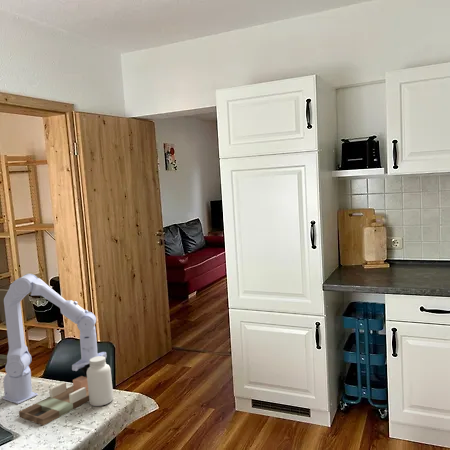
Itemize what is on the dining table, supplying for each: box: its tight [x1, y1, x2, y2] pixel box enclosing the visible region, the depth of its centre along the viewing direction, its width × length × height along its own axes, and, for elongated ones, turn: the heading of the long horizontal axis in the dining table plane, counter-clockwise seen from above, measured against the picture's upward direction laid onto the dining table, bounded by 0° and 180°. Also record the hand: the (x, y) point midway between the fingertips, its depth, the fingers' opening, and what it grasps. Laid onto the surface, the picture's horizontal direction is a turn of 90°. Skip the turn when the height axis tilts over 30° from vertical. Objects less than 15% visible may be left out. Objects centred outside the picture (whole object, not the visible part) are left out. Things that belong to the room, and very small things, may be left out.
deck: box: [18, 385, 90, 427], centre depth 151 cm, size 12×24×2 cm, turn 149°
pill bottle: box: [87, 356, 114, 407], centre depth 152 cm, size 8×8×15 cm
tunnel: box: [49, 381, 86, 404], centre depth 153 cm, size 11×6×3 cm, turn 59°
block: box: [72, 375, 88, 391], centre depth 158 cm, size 4×4×4 cm
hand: (91, 383), depth 162 cm, fingers closed
